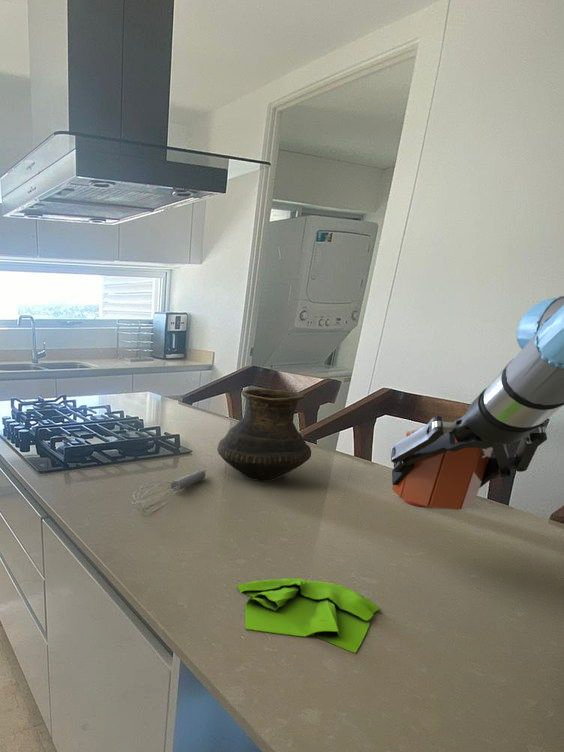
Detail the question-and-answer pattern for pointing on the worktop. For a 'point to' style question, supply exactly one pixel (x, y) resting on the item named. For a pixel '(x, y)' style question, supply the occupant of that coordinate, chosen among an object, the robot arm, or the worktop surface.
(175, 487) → the kitchen whisk
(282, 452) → the ceramic pot
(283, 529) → the worktop surface
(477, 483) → the cup
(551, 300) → the robot arm
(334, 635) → the cloth
